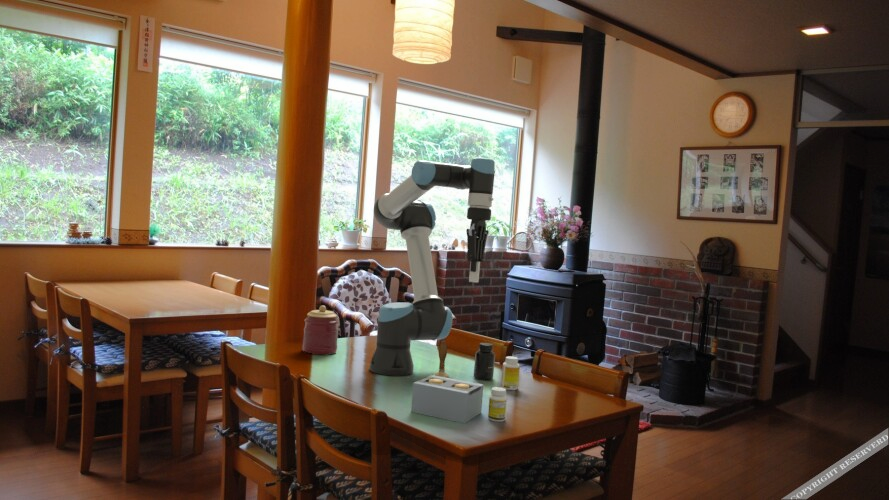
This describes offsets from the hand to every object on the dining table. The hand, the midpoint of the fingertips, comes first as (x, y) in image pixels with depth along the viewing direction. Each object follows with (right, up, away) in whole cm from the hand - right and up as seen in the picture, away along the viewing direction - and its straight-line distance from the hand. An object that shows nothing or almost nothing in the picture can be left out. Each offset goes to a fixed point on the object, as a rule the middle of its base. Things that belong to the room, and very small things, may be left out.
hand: (473, 281), depth 207 cm
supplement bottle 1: (+4, -34, +18) cm, 39 cm away
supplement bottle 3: (+12, -35, +7) cm, 38 cm away
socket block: (-9, -35, -26) cm, 44 cm away
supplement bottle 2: (+5, -36, -28) cm, 46 cm away
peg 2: (-5, -35, -27) cm, 44 cm away
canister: (-57, -29, +41) cm, 76 cm away
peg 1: (-12, -34, -24) cm, 43 cm away
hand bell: (-11, -34, -4) cm, 36 cm away
